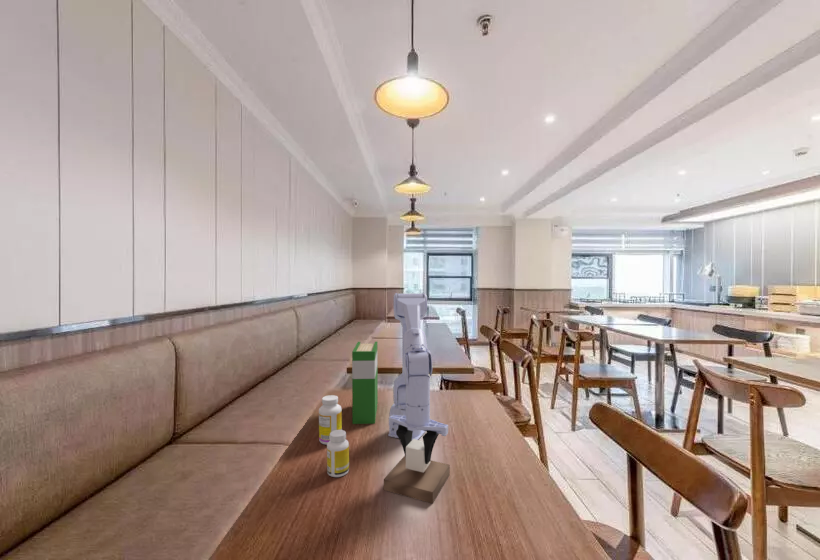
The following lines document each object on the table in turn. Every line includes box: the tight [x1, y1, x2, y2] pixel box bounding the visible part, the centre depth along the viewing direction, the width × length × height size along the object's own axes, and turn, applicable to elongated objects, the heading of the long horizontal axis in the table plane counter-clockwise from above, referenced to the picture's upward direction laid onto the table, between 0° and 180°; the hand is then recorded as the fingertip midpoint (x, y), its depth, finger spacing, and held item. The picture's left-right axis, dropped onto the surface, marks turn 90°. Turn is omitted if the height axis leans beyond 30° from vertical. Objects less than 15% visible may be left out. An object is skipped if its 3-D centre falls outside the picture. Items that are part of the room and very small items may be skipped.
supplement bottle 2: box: [326, 429, 350, 478], centre depth 88 cm, size 5×5×10 cm
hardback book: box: [351, 341, 379, 425], centre depth 125 cm, size 18×7×24 cm, turn 2°
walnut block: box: [383, 455, 451, 504], centre depth 84 cm, size 12×12×2 cm
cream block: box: [406, 439, 430, 473], centre depth 84 cm, size 4×4×5 cm
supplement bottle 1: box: [318, 394, 343, 446], centre depth 105 cm, size 7×7×13 cm
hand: (417, 459), depth 84 cm, fingers closed on cream block, 4 cm apart
